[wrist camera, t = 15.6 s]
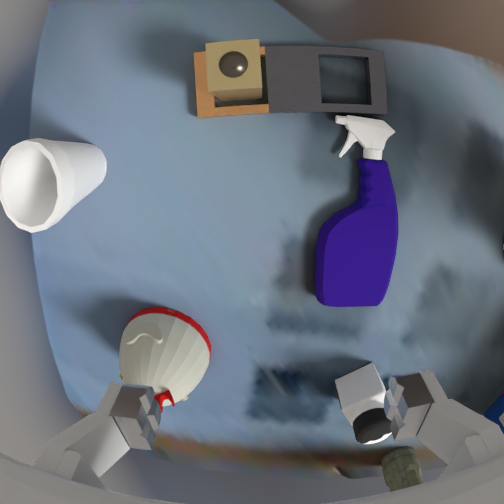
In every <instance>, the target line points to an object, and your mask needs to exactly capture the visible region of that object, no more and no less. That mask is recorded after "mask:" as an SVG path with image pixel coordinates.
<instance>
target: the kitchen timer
mask: <svg viewBox="0 0 504 504" xmlns="http://www.w3.org/2000/svg"><path fill="white" fill-rule="evenodd" d="M210 356H211V345H210V342H209V339H208V336H207V334H206V333H205V332H204V330H203V329H202V327H201V326H200V325H199V324H198V323H196V322H195V321H194V320H193V319H192V318H191V317H189V316H187V315H185V314H183V313H181V312H179V311H176V310H172V309H168V308H149V309H145V310H142V311H140V312H139V313H137V314H136V315H134V316H133V317H132V318H131V320H130V321H129V323H128V324H127V326H126V328H125V329H124V331H123V334H122V339H121V344H120V350H119V367H120V372H121V374H120V378H121V379H122V380H123V382H124V384H125V383H126V384H134V385H143V386H151V387H153V389H154V392H155V396H154V399H155V400H156V401H158V403H159V405H160V410H161V413H162V411H163V407H162V406H168V405H171V404H172V405H173V406H174V405H175V404H174V403H176V402H178V401H180V400H181V401H185V400H187V398H188V394H189V393H190V392H191V391H192V390H193V389H194V388H195V387H196V386H197V384H198V383H199V382H200V380H201V379H202V377H203V375H204V373H205V371H206V369H207V367H208V365H209V361H210Z"/></svg>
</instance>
